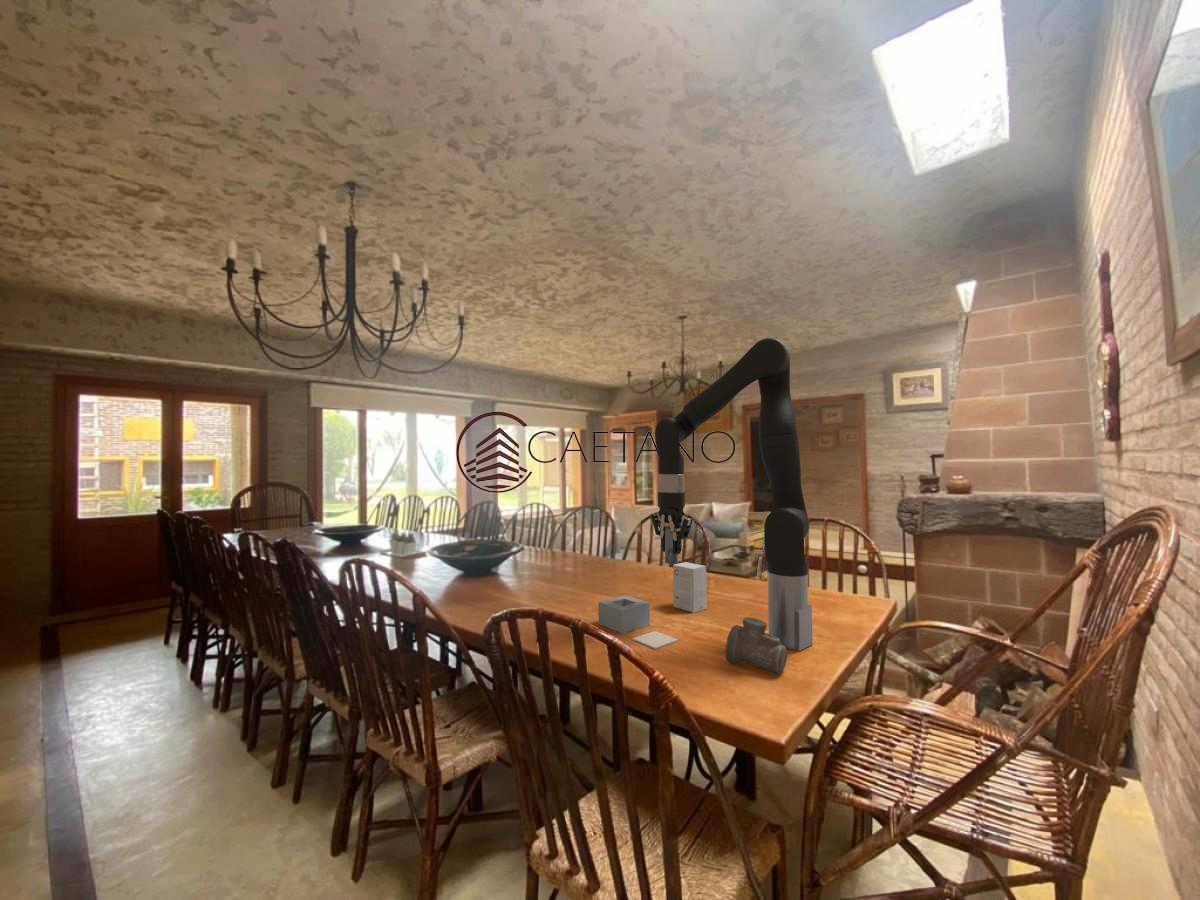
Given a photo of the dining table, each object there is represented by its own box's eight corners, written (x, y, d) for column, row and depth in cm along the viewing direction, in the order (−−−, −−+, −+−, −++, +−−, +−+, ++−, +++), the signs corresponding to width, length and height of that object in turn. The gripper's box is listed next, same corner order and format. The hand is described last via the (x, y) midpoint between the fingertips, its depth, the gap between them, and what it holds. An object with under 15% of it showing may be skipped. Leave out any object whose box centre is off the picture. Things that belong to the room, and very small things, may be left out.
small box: (707, 609, 146) (706, 565, 147) (693, 613, 142) (692, 568, 143) (686, 603, 153) (686, 561, 153) (672, 607, 149) (672, 564, 149)
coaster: (678, 641, 121) (678, 639, 121) (655, 649, 116) (655, 647, 116) (655, 632, 127) (655, 631, 127) (632, 639, 122) (632, 638, 122)
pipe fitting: (720, 664, 106) (726, 617, 106) (734, 655, 112) (740, 611, 113) (776, 685, 99) (782, 635, 99) (787, 674, 105) (793, 627, 105)
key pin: (681, 562, 134) (681, 522, 134) (671, 564, 131) (671, 523, 131) (671, 560, 137) (671, 521, 137) (661, 562, 134) (661, 522, 134)
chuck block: (649, 625, 133) (649, 602, 133) (622, 633, 126) (622, 610, 127) (625, 616, 141) (625, 595, 141) (598, 623, 134) (598, 601, 134)
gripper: (700, 491, 131) (700, 555, 131) (662, 488, 142) (662, 547, 142) (681, 492, 126) (681, 558, 126) (643, 489, 137) (643, 550, 137)
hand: (671, 552), depth 134 cm, fingers closed on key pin, 3 cm apart
